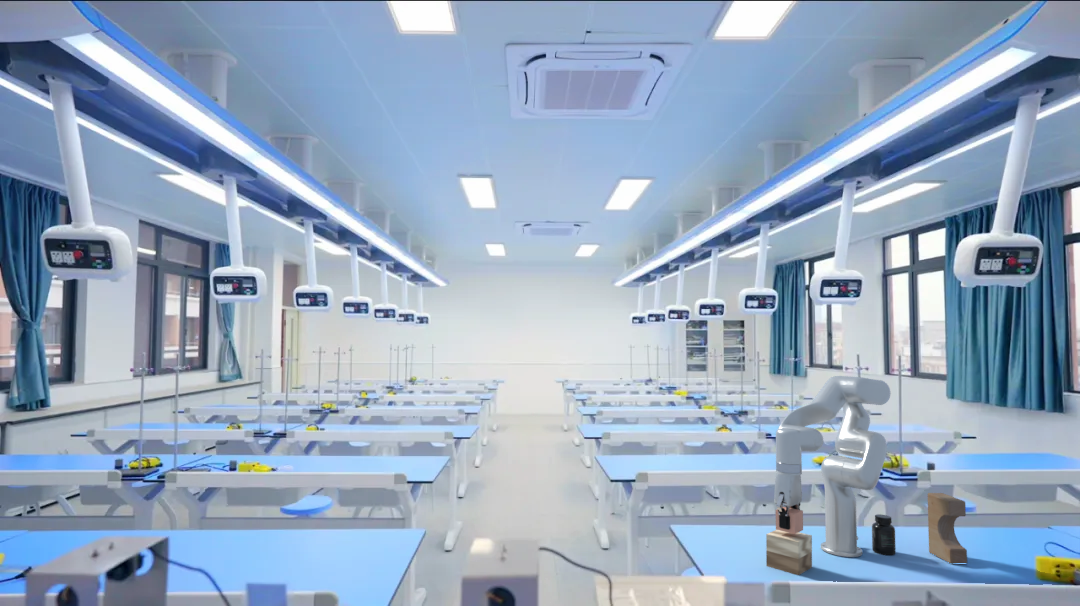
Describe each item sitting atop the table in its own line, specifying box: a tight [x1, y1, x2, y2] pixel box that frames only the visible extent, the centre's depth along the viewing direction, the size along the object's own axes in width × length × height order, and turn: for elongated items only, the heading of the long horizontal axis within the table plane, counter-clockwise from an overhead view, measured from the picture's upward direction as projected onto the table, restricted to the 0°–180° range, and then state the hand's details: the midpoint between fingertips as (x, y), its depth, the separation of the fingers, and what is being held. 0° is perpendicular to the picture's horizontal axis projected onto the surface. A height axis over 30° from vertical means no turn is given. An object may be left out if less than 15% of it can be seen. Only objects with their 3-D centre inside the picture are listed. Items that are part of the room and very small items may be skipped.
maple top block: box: [765, 529, 813, 559], centre depth 188 cm, size 10×10×5 cm
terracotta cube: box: [775, 507, 804, 534], centre depth 188 cm, size 6×6×6 cm
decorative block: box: [927, 492, 968, 564], centre depth 198 cm, size 11×6×20 cm, turn 0°
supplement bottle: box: [871, 513, 897, 557], centre depth 202 cm, size 7×7×12 cm
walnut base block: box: [765, 550, 813, 576], centre depth 187 cm, size 10×10×5 cm
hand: (789, 525), depth 188 cm, fingers closed on terracotta cube, 6 cm apart
